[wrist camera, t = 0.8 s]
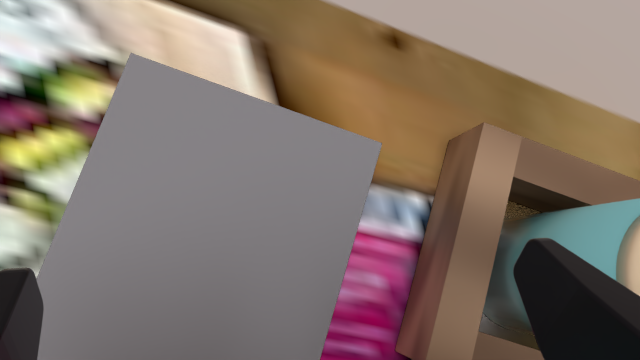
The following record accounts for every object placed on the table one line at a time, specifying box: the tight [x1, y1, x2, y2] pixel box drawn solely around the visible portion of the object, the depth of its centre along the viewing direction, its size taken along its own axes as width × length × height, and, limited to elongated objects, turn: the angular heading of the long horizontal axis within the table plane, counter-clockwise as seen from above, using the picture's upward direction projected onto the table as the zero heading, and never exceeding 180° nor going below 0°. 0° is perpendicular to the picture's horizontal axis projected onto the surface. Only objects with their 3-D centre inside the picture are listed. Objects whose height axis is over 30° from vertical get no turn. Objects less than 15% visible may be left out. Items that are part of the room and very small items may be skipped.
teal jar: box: [483, 198, 640, 335], centre depth 20 cm, size 6×6×10 cm
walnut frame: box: [395, 122, 640, 360], centre depth 24 cm, size 11×11×4 cm
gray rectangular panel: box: [36, 53, 382, 360], centre depth 21 cm, size 20×12×1 cm, turn 163°
